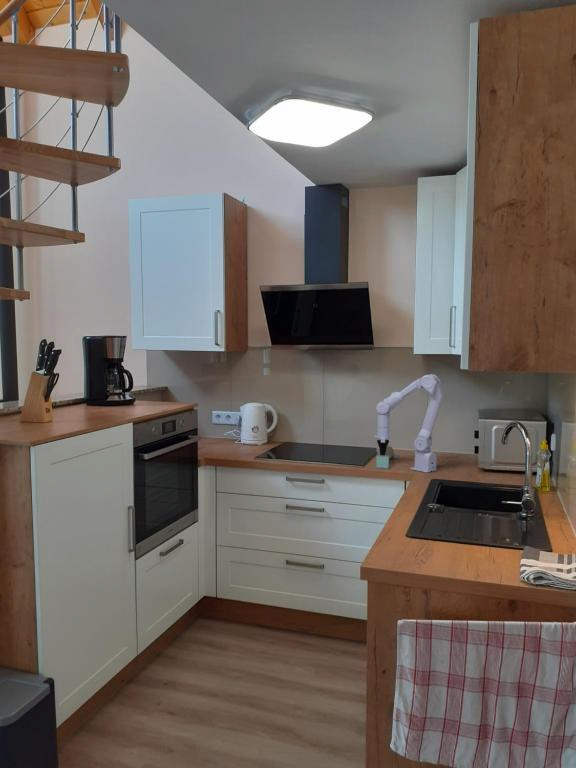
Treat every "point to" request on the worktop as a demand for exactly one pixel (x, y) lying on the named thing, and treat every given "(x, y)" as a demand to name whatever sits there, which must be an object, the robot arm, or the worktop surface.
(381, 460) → the tile
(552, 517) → the worktop surface
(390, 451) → the ceramic mug
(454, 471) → the worktop surface
